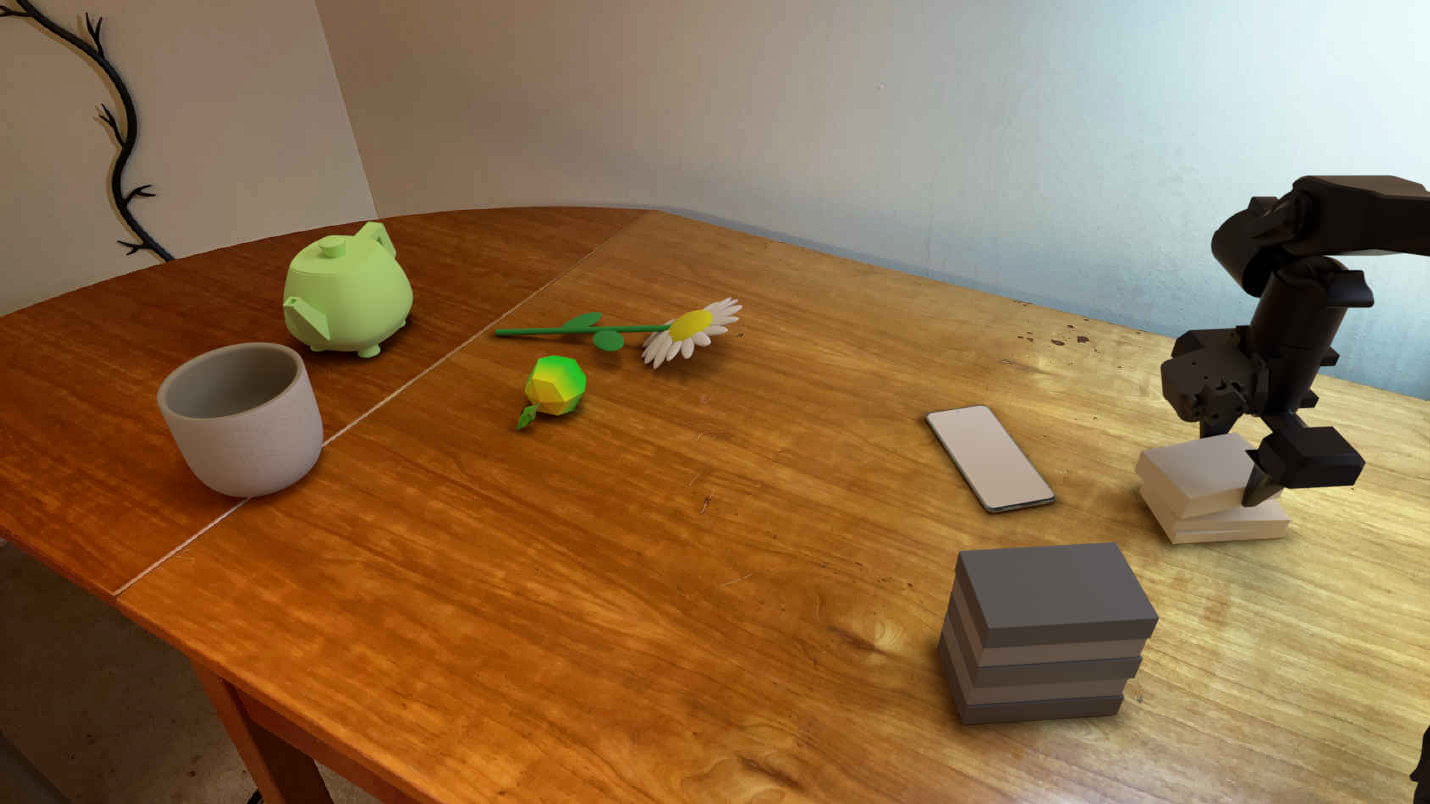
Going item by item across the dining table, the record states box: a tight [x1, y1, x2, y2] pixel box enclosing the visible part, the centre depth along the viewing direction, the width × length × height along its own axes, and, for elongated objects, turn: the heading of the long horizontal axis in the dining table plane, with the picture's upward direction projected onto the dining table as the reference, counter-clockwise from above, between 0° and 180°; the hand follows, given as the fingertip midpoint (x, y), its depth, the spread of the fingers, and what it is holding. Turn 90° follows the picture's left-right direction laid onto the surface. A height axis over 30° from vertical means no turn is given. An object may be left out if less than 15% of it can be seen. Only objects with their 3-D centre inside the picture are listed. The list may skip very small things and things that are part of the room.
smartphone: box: [925, 404, 1057, 514], centre depth 90 cm, size 7×1×15 cm
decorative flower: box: [495, 297, 743, 370], centre depth 105 cm, size 13×5×30 cm
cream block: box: [1133, 431, 1285, 519], centre depth 80 cm, size 6×10×2 cm, turn 105°
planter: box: [156, 341, 324, 498], centre depth 86 cm, size 12×12×11 cm
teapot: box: [282, 221, 414, 359], centre depth 105 cm, size 20×13×13 cm
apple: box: [516, 354, 587, 431], centre depth 95 cm, size 7×6×9 cm
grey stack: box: [937, 541, 1160, 726], centre depth 66 cm, size 7×12×11 cm, turn 94°
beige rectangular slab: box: [1138, 478, 1292, 545], centre depth 83 cm, size 7×10×2 cm
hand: (1226, 477), depth 81 cm, fingers closed on cream block, 7 cm apart
